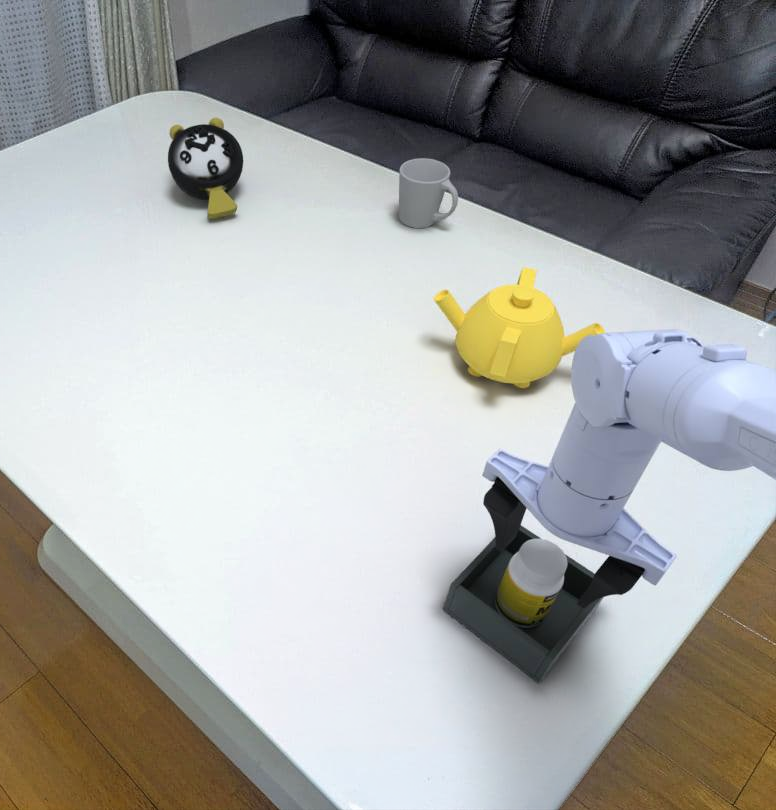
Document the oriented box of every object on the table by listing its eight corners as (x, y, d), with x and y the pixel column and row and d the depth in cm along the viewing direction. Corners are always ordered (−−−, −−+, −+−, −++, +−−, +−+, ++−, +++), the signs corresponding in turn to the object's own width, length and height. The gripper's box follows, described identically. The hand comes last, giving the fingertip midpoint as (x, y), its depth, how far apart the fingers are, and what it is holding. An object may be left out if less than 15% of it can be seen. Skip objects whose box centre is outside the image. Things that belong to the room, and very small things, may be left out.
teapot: (407, 387, 91) (420, 317, 83) (441, 304, 102) (455, 235, 94) (577, 432, 85) (608, 361, 77) (593, 338, 96) (622, 268, 88)
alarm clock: (175, 234, 124) (134, 149, 117) (219, 196, 133) (183, 115, 126) (228, 222, 117) (188, 131, 109) (271, 183, 126) (236, 96, 118)
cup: (411, 201, 121) (418, 153, 115) (463, 223, 116) (474, 173, 110) (383, 220, 118) (389, 171, 112) (436, 243, 113) (445, 193, 107)
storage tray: (595, 609, 70) (611, 584, 66) (538, 683, 65) (552, 660, 62) (501, 545, 75) (511, 518, 72) (442, 609, 70) (450, 584, 67)
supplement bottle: (534, 639, 67) (560, 591, 61) (485, 611, 69) (505, 562, 63) (553, 600, 70) (580, 551, 64) (506, 575, 72) (527, 525, 66)
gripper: (722, 493, 51) (650, 594, 60) (533, 391, 58) (496, 495, 68) (676, 555, 47) (608, 651, 57) (482, 438, 55) (451, 540, 65)
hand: (544, 570), depth 62 cm, fingers open, 7 cm apart
